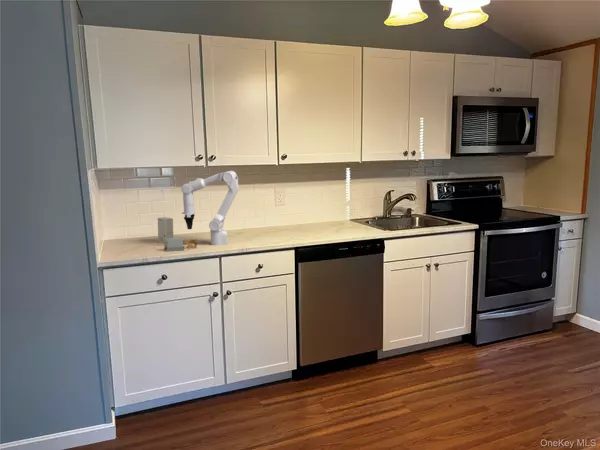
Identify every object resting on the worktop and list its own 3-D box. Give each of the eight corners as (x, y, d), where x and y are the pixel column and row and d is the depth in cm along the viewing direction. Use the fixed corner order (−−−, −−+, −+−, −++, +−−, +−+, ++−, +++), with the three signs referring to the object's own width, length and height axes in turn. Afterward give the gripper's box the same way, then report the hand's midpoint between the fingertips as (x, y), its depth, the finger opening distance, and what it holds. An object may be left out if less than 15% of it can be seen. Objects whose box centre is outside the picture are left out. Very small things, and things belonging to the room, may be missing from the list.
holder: (184, 250, 249) (184, 246, 249) (184, 252, 245) (184, 247, 244) (167, 251, 247) (167, 247, 247) (167, 253, 243) (166, 248, 243)
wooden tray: (197, 245, 262) (196, 239, 262) (196, 249, 251) (196, 243, 250) (167, 246, 259) (166, 240, 259) (165, 251, 247) (164, 245, 247)
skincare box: (158, 242, 273) (156, 217, 270) (166, 240, 277) (165, 216, 275) (165, 244, 267) (164, 219, 265) (174, 242, 272) (173, 217, 269)
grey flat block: (168, 251, 246) (167, 238, 245) (183, 250, 247) (182, 237, 246) (167, 251, 244) (167, 239, 243) (183, 250, 246) (182, 238, 245)
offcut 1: (193, 246, 255) (193, 243, 255) (194, 247, 252) (194, 244, 252) (188, 246, 254) (188, 243, 254) (188, 247, 251) (188, 244, 251)
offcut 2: (195, 248, 256) (194, 245, 256) (194, 250, 252) (194, 247, 252) (188, 248, 255) (188, 246, 255) (188, 250, 251) (188, 247, 251)
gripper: (182, 203, 264) (183, 226, 266) (180, 206, 250) (182, 230, 252) (194, 202, 265) (195, 225, 267) (193, 205, 251) (195, 230, 253)
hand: (190, 228), depth 260 cm, fingers open, 7 cm apart
